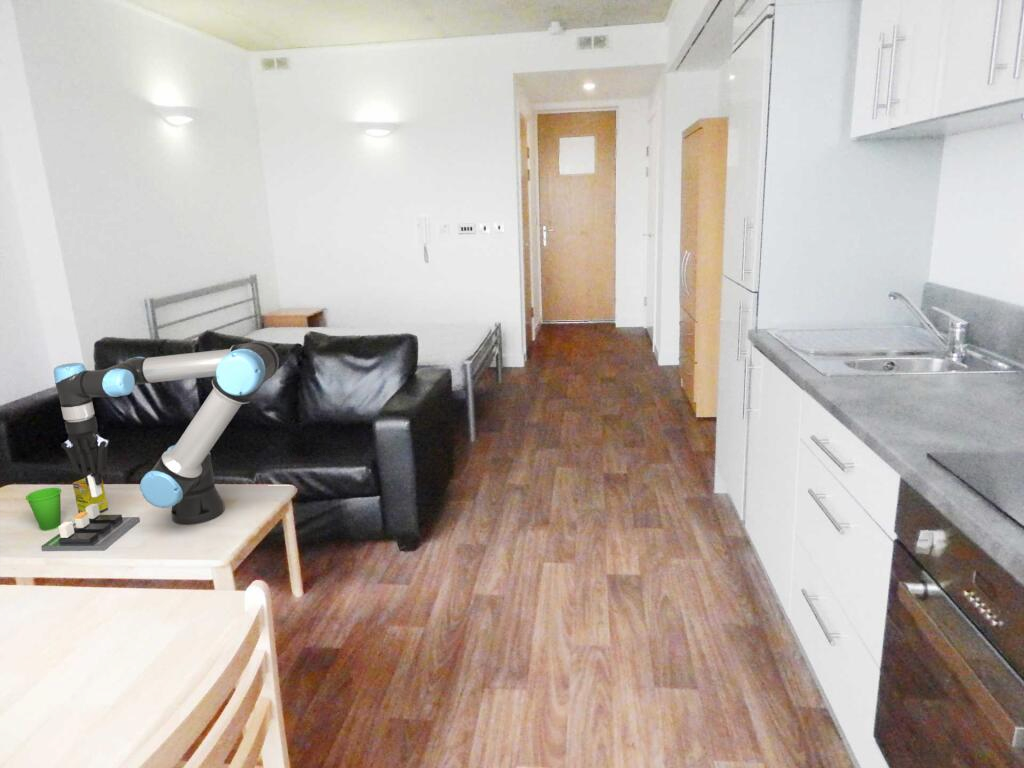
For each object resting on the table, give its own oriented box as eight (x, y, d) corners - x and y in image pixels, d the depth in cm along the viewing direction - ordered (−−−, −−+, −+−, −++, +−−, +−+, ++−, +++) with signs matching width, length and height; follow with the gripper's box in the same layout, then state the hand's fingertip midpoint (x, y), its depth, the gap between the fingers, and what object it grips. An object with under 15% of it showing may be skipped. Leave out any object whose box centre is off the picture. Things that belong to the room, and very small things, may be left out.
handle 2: (100, 514, 206) (97, 503, 205) (93, 518, 203) (91, 508, 202) (93, 514, 206) (91, 503, 205) (87, 518, 203) (85, 508, 203)
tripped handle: (89, 523, 200) (87, 512, 200) (83, 527, 198) (80, 516, 197) (83, 523, 200) (80, 512, 200) (76, 527, 198) (74, 516, 197)
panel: (139, 521, 208) (138, 512, 207) (104, 550, 191) (102, 540, 190) (82, 522, 209) (80, 513, 208) (42, 551, 191) (40, 541, 191)
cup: (50, 534, 201) (43, 500, 198) (25, 532, 203) (17, 498, 200) (75, 521, 209) (68, 488, 207) (50, 519, 211) (43, 486, 208)
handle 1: (74, 532, 195) (72, 521, 194) (67, 537, 192) (65, 526, 191) (67, 532, 195) (65, 521, 194) (60, 537, 192) (58, 526, 191)
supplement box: (78, 514, 214) (71, 482, 211) (95, 507, 219) (89, 475, 217) (91, 517, 212) (84, 485, 209) (108, 509, 217) (102, 478, 214)
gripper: (110, 413, 194) (126, 488, 200) (66, 414, 194) (83, 490, 200) (94, 421, 186) (111, 499, 193) (48, 423, 187) (66, 501, 193)
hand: (97, 495), depth 196 cm, fingers closed
